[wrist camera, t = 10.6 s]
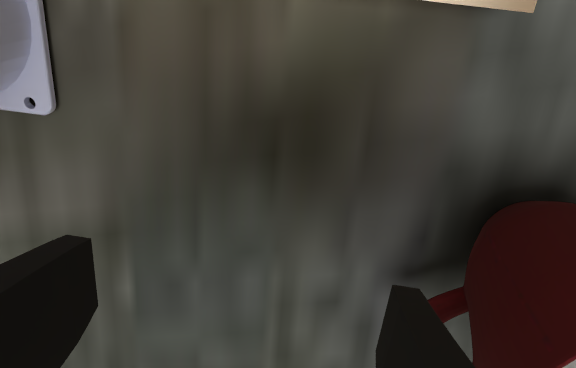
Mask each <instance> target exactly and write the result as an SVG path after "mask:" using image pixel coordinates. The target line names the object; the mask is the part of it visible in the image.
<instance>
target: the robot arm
mask: <svg viewBox="0 0 576 368" xmlns="http://www.w3.org/2000/svg"><path fill="white" fill-rule="evenodd" d="M30 98H32V99H33V100H34V101H35V106H33V105H32V104H31V103H30V100H29V99H30ZM55 108H56V100H55V92H54V85H53V77H52V70H51V62H50V54H49V47H48V39H47V31H46V24H45V16H44V8H43V1H42V0H0V110H8V111H15V112H23V113H31V114H38V115H47V114H49V113H51V112H53V111H54V110H55ZM97 307H98V299H97V290H96V281H95V271H94V262H93V253H92V243H91V238H84V237H78V236H71V235H65V236H62V237H60V238H57V239H55V240H52V241H50V242H48V243H46V244H43V245H41V246H39V247H37V248H35V249H32V250H30V251H28V252H26V253H24V254H22V255H20V256H17V257H15V258H13V259H11V260H9V261H7V262H4V263H2V264H0V368H60V367H61V366H62V364H63V363H64V362H65V360H66V359H67V358H68V356H69V355H70V353H71V352H72V351H73V349H74V348H75V346H76V345H77V343H78V342H79V340H80V338H81V336H82V335H83V333H84V331H85V329H86V328H87V326H88V324H89V322H90V320H91V318H92V316H93V314H94V312H95V311H96V309H97ZM376 368H475V366H474V365H473V364H472V362H471V361H470V360H469V358H468V357H467V356H466V354H465V353H464V352H463V350H462V349H461V348H460V346H459V345H458V344H457V342H456V341H455V340H454V338H453V337H452V335H451V334H450V333H449V331H448V330H447V328H446V327H445V325H444V324H443V323H442V321H441V320H440V318H439V317H438V315H437V314H436V312H435V311H434V309H433V308H432V306H431V305H430V303H429V302H428V301H427V299H426V298H425V296H424V295H423V293H422V292H421V291H420V289H417V288H410V287H404V286H397V285H392V289H391V292H390V296H389V300H388V304H387V308H386V312H385V316H384V320H383V324H382V328H381V332H380V336H379V340H378V344H377V348H376Z"/></svg>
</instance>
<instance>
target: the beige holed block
mask: <svg viewBox="0 0 576 368" xmlns="http://www.w3.org/2000/svg"><path fill="white" fill-rule="evenodd" d="M424 1H433V2H441V3H450V4H459V5H468V6H477V7H485V8H494V9H503V10H512V11H521V12H529V13H533V12H534V9H535V6H536V3H537V0H424Z"/></svg>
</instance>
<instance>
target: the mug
mask: <svg viewBox="0 0 576 368" xmlns="http://www.w3.org/2000/svg"><path fill="white" fill-rule="evenodd" d="M427 301H428V302H429V303H430V305H431V306H432V308H433V309H434V311H435V312H436V314H437V315H438V317H439V318H440V320H441V321H442V323H445V322H446V321H448V320H450V319H452V318H454V317H456V316H458V315H460V314H463V313H465V312H468V311H469V318H470V327H471V335H472V348H473V363H472V364H473V365H474V366H475V368H576V204H573V203H567V202H557V201H524V202H519V203H515V204H512V205H509V206H507V207H505V208H503V209H501V210H499V211H498V212H496V213H495V214H494V215H493V216H492V217H490V218H489V219H488V221H487V222H486V223H485V224H484V226H483V228H482V229H481V231H480V233H479V235H478V237H477V239H476V241H475V243H474V246H473V248H472V251H471V253H470V256H469V260H468V264H467V268H466V275H465V282H464V286H463V287H460V288H457V289H454V290H451V291H448V292H445V293H443V294H440V295H437V296H435V297H433V298H431V299H429V300H427Z"/></svg>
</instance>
